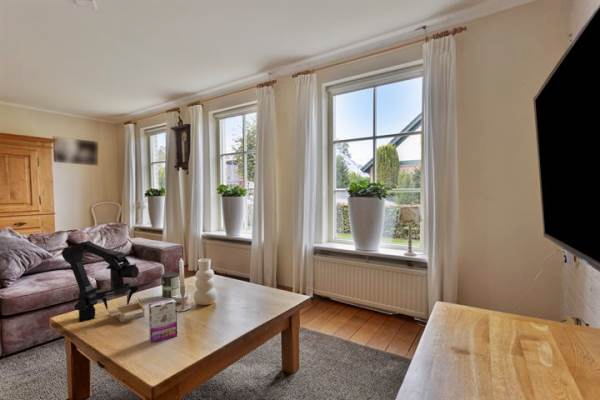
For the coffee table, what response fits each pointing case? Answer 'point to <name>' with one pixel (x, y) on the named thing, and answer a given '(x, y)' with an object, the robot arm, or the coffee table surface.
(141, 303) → the flap far
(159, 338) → the candy bar box
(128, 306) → the carton
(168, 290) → the coffee can
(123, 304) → the flap left
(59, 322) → the coffee table surface
